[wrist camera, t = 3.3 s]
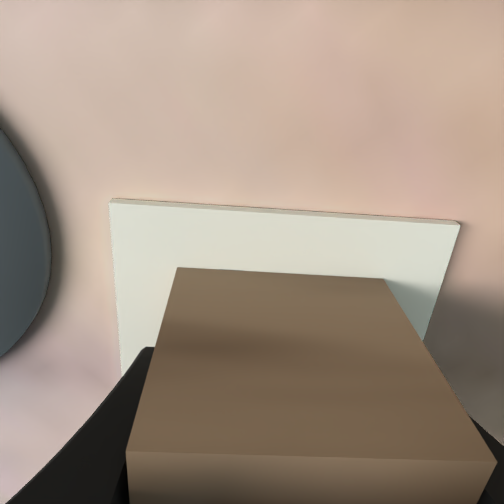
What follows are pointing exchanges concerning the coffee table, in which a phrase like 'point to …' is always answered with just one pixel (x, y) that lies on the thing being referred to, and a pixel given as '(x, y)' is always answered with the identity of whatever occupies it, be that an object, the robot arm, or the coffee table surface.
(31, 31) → the coffee table surface
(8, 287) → the slate coaster
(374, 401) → the walnut block
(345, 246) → the tile
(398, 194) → the coffee table surface
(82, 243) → the coffee table surface
